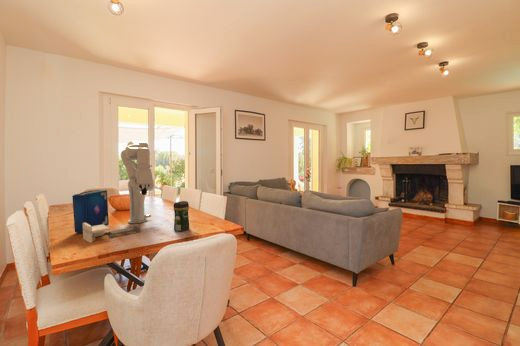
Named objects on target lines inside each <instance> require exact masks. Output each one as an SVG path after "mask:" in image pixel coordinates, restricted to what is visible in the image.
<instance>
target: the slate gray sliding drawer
mask: <svg viewBox="0 0 520 346" xmlns="http://www.w3.org/2000/svg"><path fill="white" fill-rule="evenodd" d="M136 230H141V226H140V225H137V224H134V225H133V226H130V227H125V228H121V229H115V230H108V232H109V234H108V235H109V236H111V235H116V234H121V233H126V232H131V231H136Z"/></svg>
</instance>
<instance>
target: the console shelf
mask: <svg viewBox="0 0 520 346" xmlns="http://www.w3.org/2000/svg"><path fill="white" fill-rule="evenodd" d="M106 231H107V232H108V231H111V227H109V226H108V225H107V226H105V225H103V224H102V225H96V226H91V225H89V224H87V223H83V233H82V238H83V239H84V241H86V242H87V243H88V244H89V243H93V242H95V241H96V237H101V236H105V235H104V233H105V232H106Z"/></svg>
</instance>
